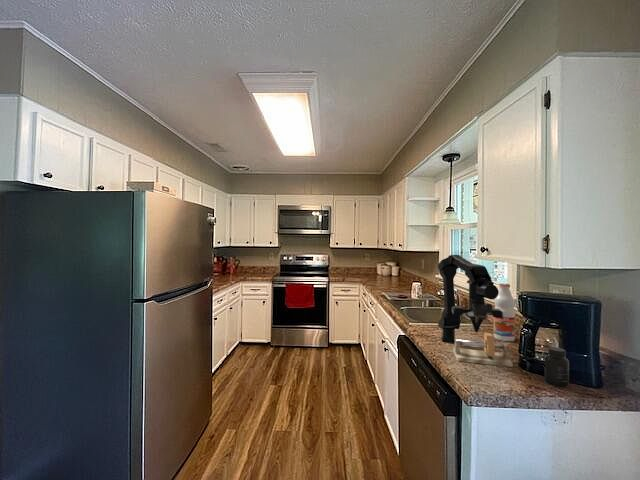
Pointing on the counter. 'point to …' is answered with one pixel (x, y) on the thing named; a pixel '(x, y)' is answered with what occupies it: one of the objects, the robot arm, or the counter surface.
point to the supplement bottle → (556, 367)
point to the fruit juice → (505, 314)
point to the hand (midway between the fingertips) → (476, 332)
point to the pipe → (479, 344)
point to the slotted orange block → (489, 344)
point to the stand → (482, 356)
